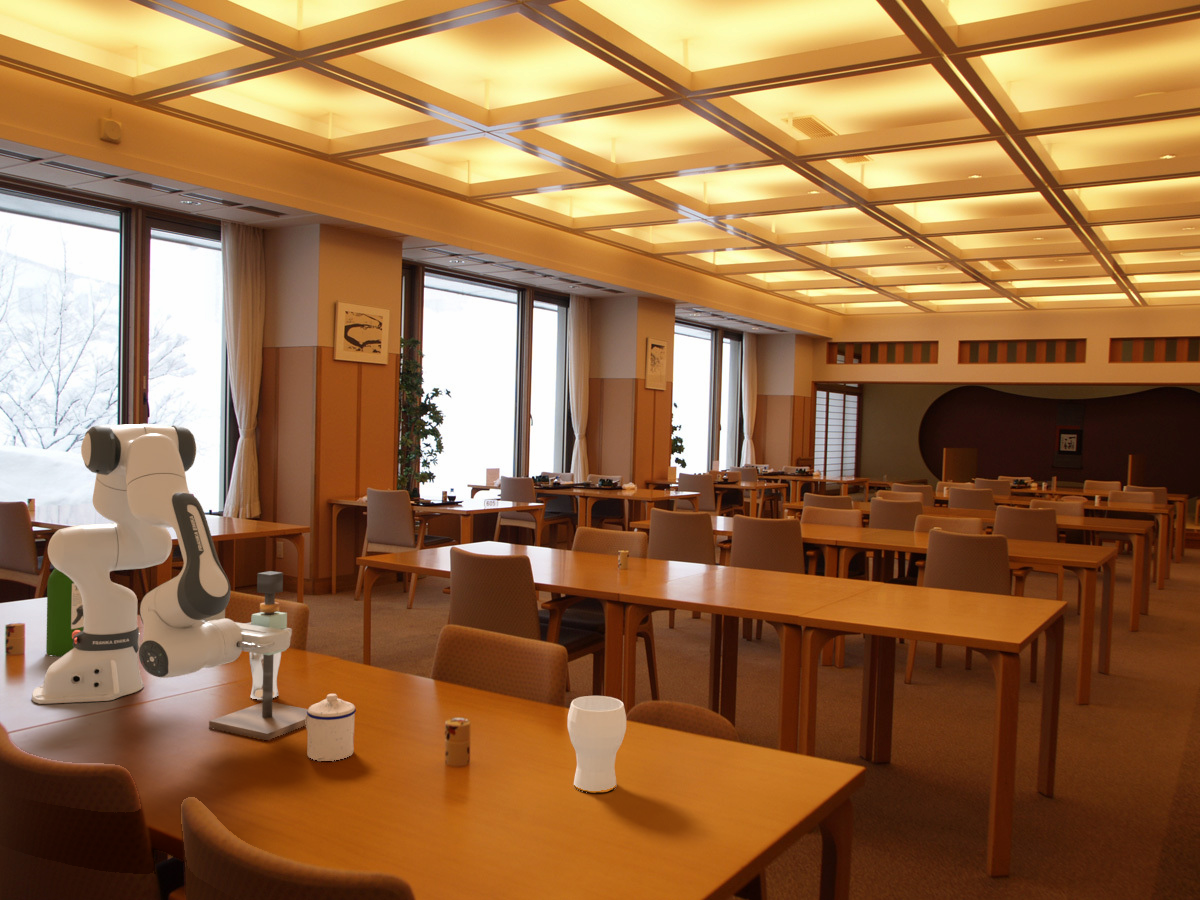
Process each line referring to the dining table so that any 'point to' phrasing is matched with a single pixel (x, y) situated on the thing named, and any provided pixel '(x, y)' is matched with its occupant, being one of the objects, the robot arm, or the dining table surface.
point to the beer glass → (257, 674)
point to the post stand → (264, 686)
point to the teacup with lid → (330, 729)
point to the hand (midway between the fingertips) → (272, 629)
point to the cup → (596, 739)
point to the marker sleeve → (270, 623)
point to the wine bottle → (62, 613)
